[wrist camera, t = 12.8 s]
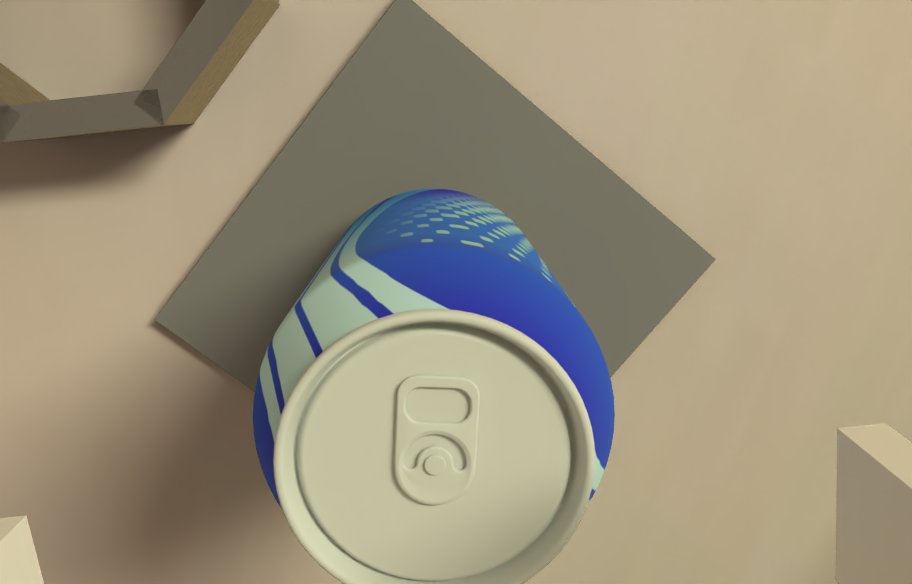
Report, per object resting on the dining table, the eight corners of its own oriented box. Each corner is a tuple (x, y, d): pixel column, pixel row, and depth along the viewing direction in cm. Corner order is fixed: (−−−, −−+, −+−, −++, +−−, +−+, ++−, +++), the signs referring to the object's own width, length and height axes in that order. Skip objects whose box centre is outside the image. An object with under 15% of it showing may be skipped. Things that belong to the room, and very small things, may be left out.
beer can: (581, 282, 32) (725, 452, 16) (441, 428, 33) (449, 716, 17) (426, 139, 30) (418, 174, 15) (285, 297, 31) (140, 484, 16)
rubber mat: (402, -7, 29) (401, -9, 29) (711, 256, 32) (715, 259, 32) (158, 316, 32) (154, 319, 32) (463, 535, 35) (463, 541, 34)
